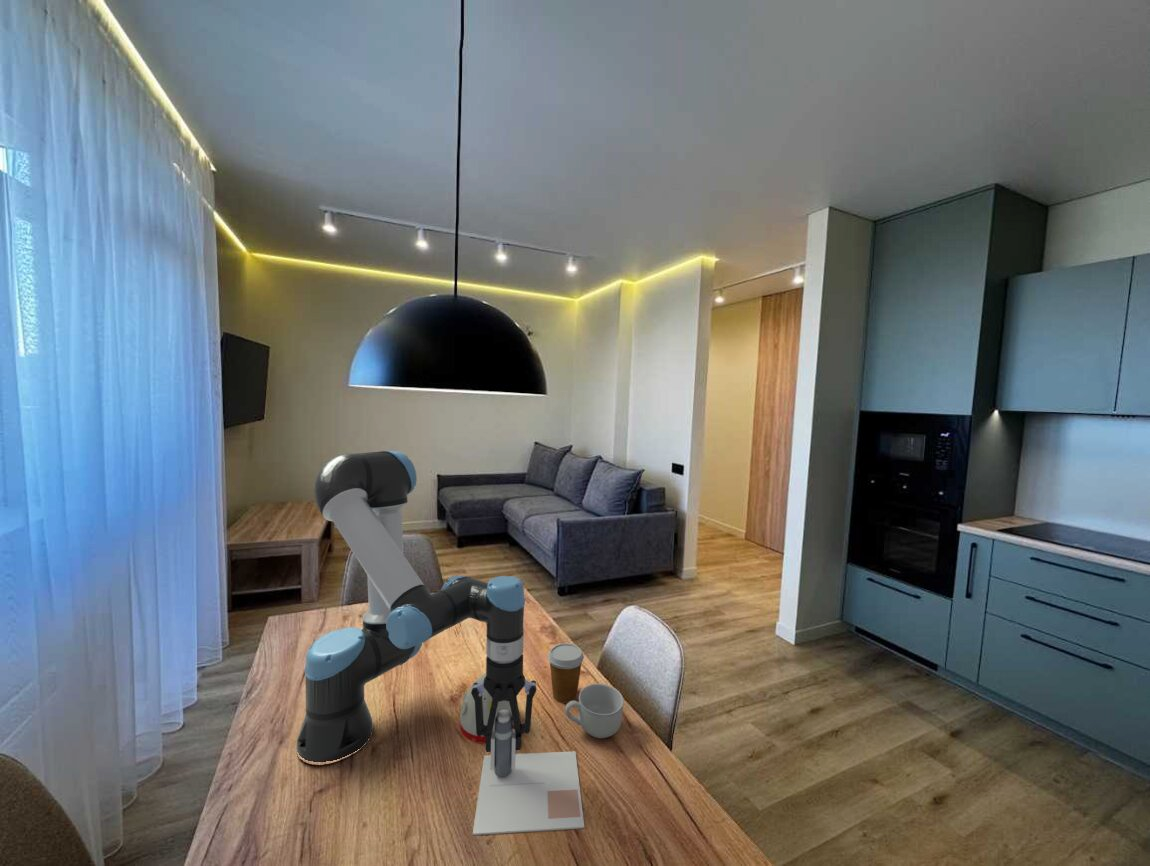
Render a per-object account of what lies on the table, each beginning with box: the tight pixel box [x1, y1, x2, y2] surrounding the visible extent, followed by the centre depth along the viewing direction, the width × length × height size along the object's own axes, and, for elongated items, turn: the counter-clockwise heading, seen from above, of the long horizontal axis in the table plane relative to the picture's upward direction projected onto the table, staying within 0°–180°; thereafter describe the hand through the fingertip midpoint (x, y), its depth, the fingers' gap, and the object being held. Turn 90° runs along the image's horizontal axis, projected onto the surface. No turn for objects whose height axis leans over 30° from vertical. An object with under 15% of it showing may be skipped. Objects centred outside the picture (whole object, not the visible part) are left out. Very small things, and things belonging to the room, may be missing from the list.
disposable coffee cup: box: [547, 642, 584, 704], centre depth 118 cm, size 10×10×12 cm
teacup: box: [564, 683, 625, 739], centre depth 106 cm, size 14×11×8 cm
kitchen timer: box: [459, 672, 514, 744], centre depth 107 cm, size 14×14×15 cm
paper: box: [472, 750, 585, 836], centre depth 89 cm, size 20×18×1 cm
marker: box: [494, 710, 513, 777], centre depth 92 cm, size 4×4×12 cm
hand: (503, 764), depth 92 cm, fingers closed on marker, 3 cm apart
